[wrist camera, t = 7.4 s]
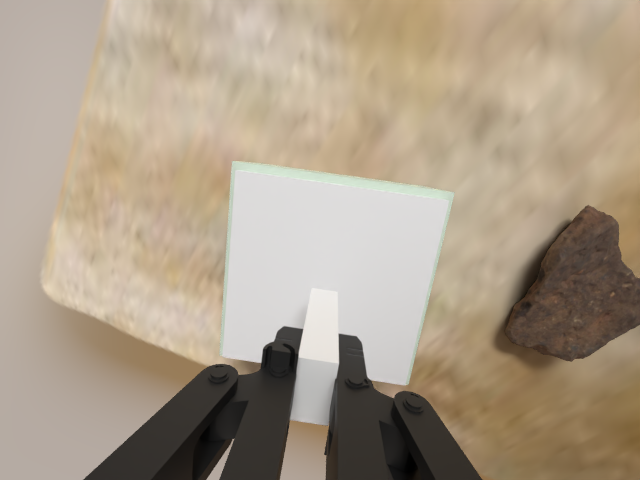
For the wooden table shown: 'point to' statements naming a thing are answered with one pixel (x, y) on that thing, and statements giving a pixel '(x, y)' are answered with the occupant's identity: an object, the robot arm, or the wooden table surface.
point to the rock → (578, 292)
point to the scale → (330, 260)
